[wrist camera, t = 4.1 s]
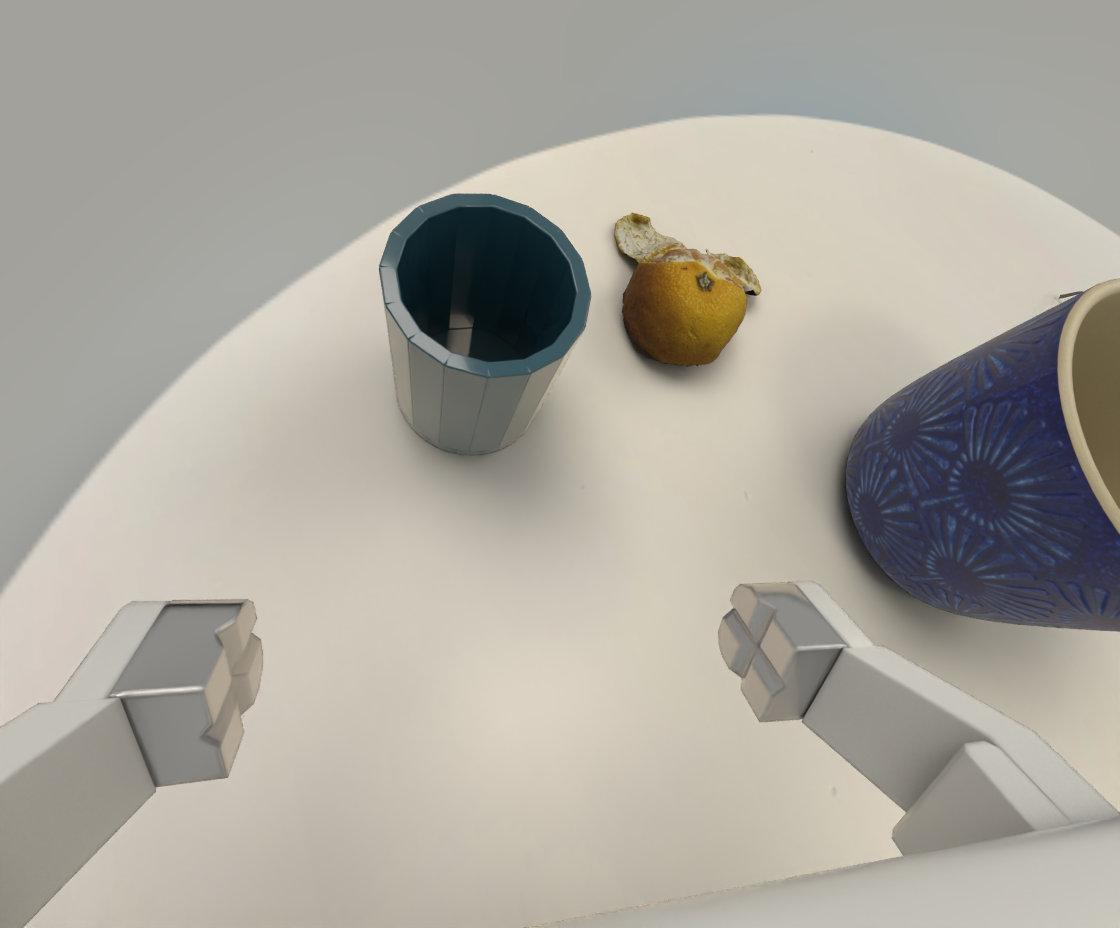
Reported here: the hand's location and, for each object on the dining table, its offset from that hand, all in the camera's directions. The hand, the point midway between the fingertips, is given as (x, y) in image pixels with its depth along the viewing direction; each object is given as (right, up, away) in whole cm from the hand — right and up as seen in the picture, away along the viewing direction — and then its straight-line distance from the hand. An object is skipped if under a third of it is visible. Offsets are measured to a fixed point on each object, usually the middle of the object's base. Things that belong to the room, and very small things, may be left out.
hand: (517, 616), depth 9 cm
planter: (+19, 0, +18) cm, 27 cm away
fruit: (+7, +11, +18) cm, 23 cm away
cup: (-3, +6, +14) cm, 16 cm away
